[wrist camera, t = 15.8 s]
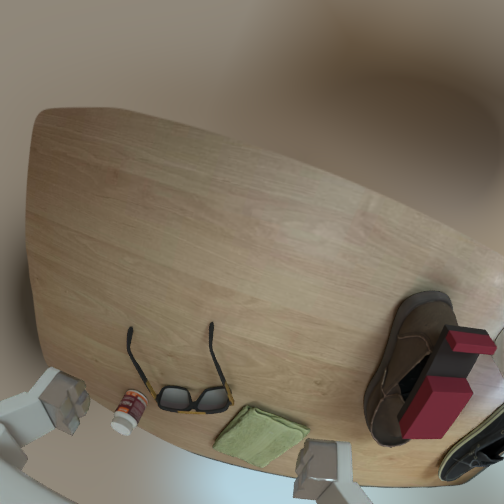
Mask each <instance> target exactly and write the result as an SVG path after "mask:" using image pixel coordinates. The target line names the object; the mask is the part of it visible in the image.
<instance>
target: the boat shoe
mask: <svg viewBox="0 0 504 504" xmlns="http://www.w3.org/2000/svg"><path fill="white" fill-rule="evenodd" d="M503 451H504V404H503V405H502V406H501V407H500V408H499V409H498V410H497V411H495V412H494V413H493V414H492V415H491V416H490V417H489V418H488V419H487V420H486V421H484V422H483V423H482V424H481V425H479V426H478V427H477V428H476V429H474V430H473V431H472V432H470V433H469V434H468V435H467V436H465V437H464V438H463V439H462V440H461V441H459V442H458V443H457V444H456V445H455V446H454V447H453V448H452V449H451V450H450V451H449V452H448V453H447V455H446V456H445V458H444V459H443V461H442V463H441V465H440V467H439V471H438V476H439V478H440V479H441V480H442V481H453V480H456V479H457V478H459V477H460V476H462V475H463V474H464V473H466V472H468V471H469V470H471V469H473V468H474V467H482V466H483V467H484V466H485V467H489V466H490V465H492V464H495V463H497V462H499V461H501V460H503V459H504V457H500V456H499V454H500V453H501V452H503Z"/></svg>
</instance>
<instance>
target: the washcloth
mask: <svg viewBox="0 0 504 504" xmlns="http://www.w3.org/2000/svg"><path fill="white" fill-rule="evenodd" d="M309 432H310V428H306V426H304V425H300V424H297V423H295V422H292V421H289V420H285V419H284V418H281V417H279V416H276V415H274V414H271V413H268V412H265V411H262V410H260V409H258V408H252V407H250V406H245V407H243V409H242V410H241V411H240V412H239V414H238V415H237V416H235V418H234V420H233V421H231V422H230V423H229V425H228V426H227V427H226V428H225V429H224V431H223V432H221V434H220V436H218V438H217V439H216V441H215V443H214V445H213V449H215V450H217V451H219V452H222V453H224V454H227V455H230V456H232V457H237V458H240V459H242V460H245V461H246V462H247V463H249V464H253V465H255V466H257V467H260V468H263V467H265V466H266V465H268V464H269V463H270V462H271V461H272V460H274V459H276V458H277V457H278V456H280V455H281V454H283V453H284V452H285V451H287V450H288V449H290V448H291V447H293V446H295V445H296V444H298V443H299V442H300V441H301V440H303V438H304V437H306V436H307V434H308V433H309Z"/></svg>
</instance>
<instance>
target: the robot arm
mask: <svg viewBox="0 0 504 504" xmlns="http://www.w3.org/2000/svg"><path fill="white" fill-rule="evenodd" d="M85 388H86V384H85V382H84V381H83V380H81V379H78V378H76V377H74V376H71V375H69V374H67V373H65V372H63V371H61V370H58V369H56V368H54V367H50V368H48V369H47V370H46V371H45V372H44V374H43V375H42V376H41V377H40V379H39V380H38V381H37V382H36V383H35V385H34V386H33V387H32V388H31V390H30V391H29V392H28V393H27V392H23V393H21V394H18V395H16V396H13V397H10V398H8V399H5V400H2V401H0V504H78V503H76V502H74V501H72V500H70V499H68V498H66V497H64V496H62V495H60V494H59V493H57V492H55V491H53V490H52V489H50V488H48V487H46V486H45V485H43V484H41V483H39V482H38V481H36V480H35V479H33V478H31V477H30V476H28V475H27V474H25V473H24V472H22V471H21V470H22V468H23V467H24V465H25V464H26V462H27V460H28V458H27V455H26V454H25V453H24V452H23V450H22V449H21V448H22V447H23V446H25V445H27V444H29V443H31V442H33V441H34V440H36V439H38V438H40V437H42V436H43V435H45V434H47V433H48V432H50V431H52V430H54V429H55V428H57V429H59V430H62V431H63V432H66V433H68V434H70V435H73V434H74V432H75V431H76V429H77V428H78V426H79V424H80V420H79V418H80V417H83V416H85V415H86V413H87V411H88V409H89V406H90V396H89V394H88V393H87V391H86V390H85ZM295 472H296V474H297V475H298V477H297V479H296V480H295V482H294V492H293V498H300V499H310V500H316V502H317V504H373V503H372V502H371V500H370V499H369V498H368V497H367V495H366V494H365V492H364V491H363V490H362V489H361V487H360V486H359V485H358V483H357V482H353V473H352V451H351V444H350V442H343V441H333V440H320V439H310V438H308V439H306V441H305V442H304V448H303V449H301V450H300V452H299V455H298V458H297V462H296V470H295Z"/></svg>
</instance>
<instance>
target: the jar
mask: <svg viewBox="0 0 504 504" xmlns="http://www.w3.org/2000/svg"><path fill="white" fill-rule="evenodd" d="M495 345H496V346H497V349H496V351H495V353H494V355H492V358H493V360H494V362H495V363H496V364H497V366H498V368H499V370H500V372H501V374H502V376H503V378H504V329H503V330H502V331H501V333H500V334H499V336H498V337H497V339H496V341H495Z"/></svg>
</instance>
